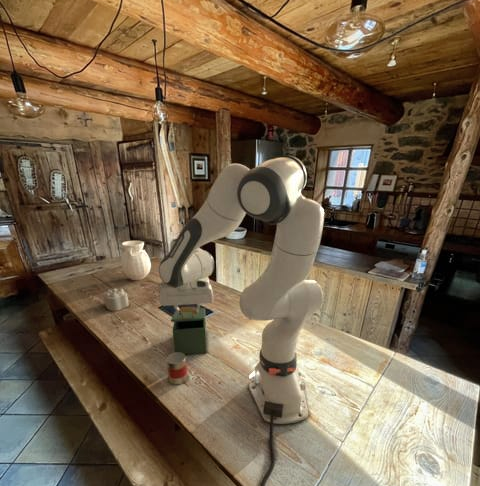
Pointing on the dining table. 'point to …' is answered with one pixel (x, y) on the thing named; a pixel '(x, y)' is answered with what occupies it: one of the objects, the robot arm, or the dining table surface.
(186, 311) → the lid
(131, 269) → the pitcher
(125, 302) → the lumpy-topped squat cylinder
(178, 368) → the can
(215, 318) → the dining table surface
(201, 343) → the chest
